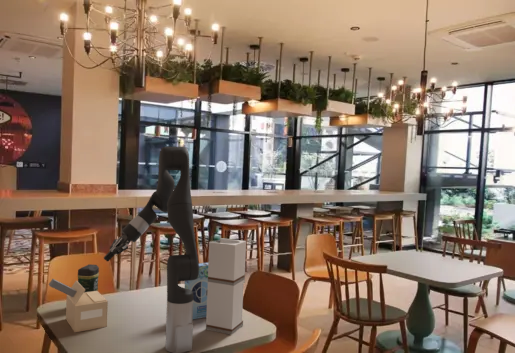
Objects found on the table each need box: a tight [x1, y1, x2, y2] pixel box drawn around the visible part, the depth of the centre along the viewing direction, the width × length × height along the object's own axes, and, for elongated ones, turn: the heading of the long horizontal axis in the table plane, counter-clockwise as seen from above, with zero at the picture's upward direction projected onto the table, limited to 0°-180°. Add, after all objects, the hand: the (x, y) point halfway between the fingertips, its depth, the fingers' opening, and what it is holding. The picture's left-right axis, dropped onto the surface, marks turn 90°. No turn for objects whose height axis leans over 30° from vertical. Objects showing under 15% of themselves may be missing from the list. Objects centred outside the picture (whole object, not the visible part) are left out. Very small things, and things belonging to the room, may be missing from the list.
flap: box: [48, 278, 85, 305], centre depth 163 cm, size 14×6×11 cm
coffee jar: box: [77, 263, 100, 292], centre depth 186 cm, size 10×8×19 cm
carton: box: [65, 290, 109, 333], centre depth 168 cm, size 16×12×10 cm
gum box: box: [184, 261, 208, 320], centre depth 182 cm, size 20×5×23 cm, turn 123°
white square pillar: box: [205, 237, 247, 336], centre depth 168 cm, size 11×11×35 cm
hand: (105, 259), depth 172 cm, fingers closed
